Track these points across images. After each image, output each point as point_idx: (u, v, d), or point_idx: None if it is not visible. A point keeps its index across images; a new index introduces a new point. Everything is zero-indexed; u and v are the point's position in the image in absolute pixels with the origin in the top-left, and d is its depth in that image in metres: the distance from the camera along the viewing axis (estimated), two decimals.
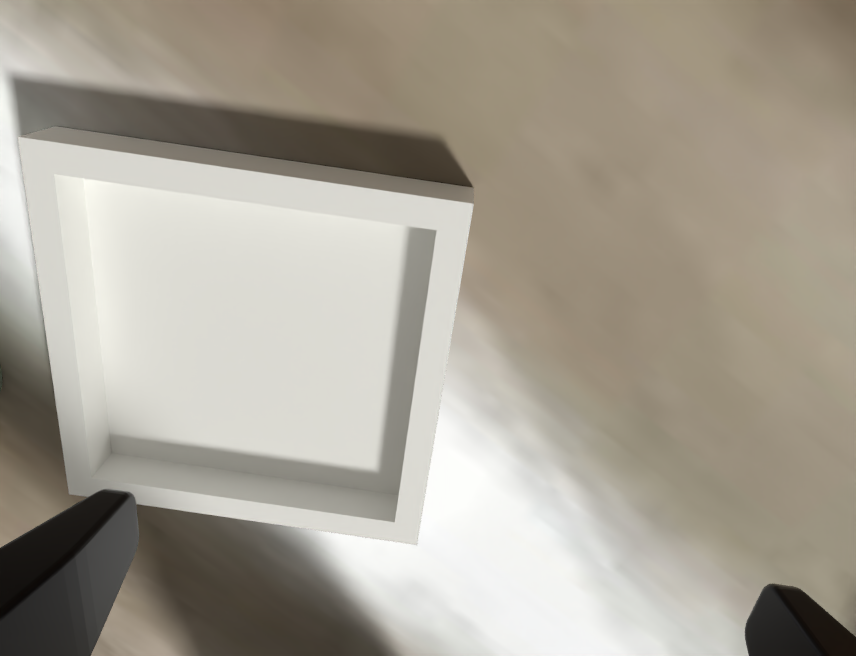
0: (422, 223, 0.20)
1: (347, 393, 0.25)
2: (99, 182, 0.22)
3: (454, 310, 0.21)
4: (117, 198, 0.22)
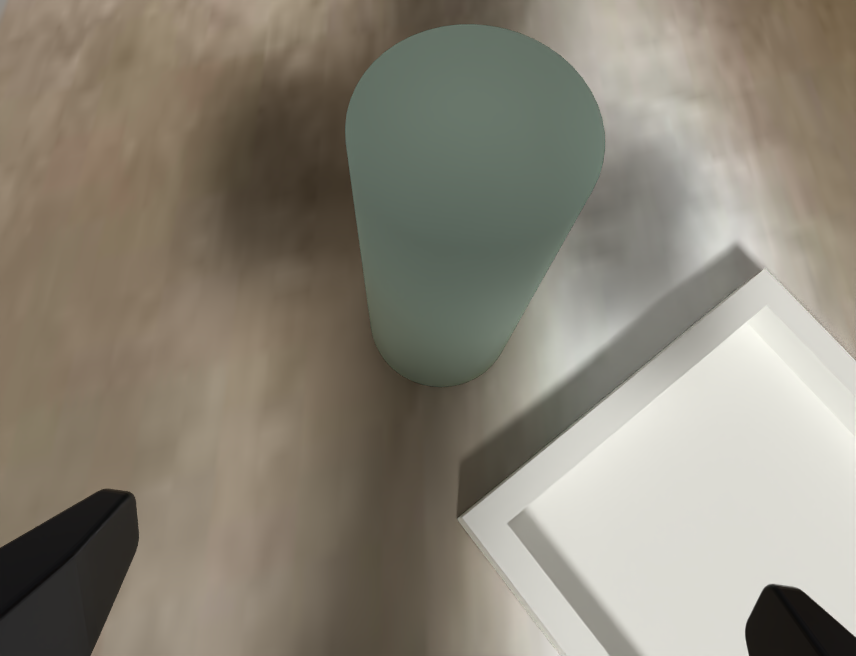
0: None
1: None
2: (743, 339, 0.24)
3: None
4: (746, 358, 0.24)
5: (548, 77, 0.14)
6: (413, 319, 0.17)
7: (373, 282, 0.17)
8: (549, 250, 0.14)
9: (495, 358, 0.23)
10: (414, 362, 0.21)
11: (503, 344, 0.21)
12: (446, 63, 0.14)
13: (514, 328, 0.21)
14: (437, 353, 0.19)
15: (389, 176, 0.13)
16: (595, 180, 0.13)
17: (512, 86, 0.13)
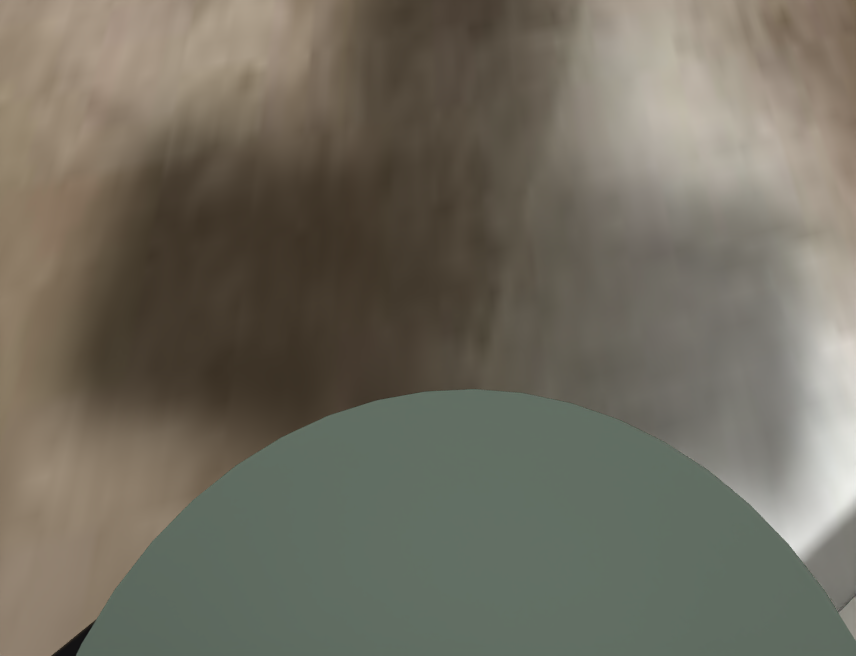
0: None
1: None
2: None
3: None
4: None
5: (716, 591, 0.04)
6: None
7: None
8: None
9: None
10: None
11: None
12: (388, 542, 0.04)
13: None
14: None
15: None
16: None
17: (602, 632, 0.04)
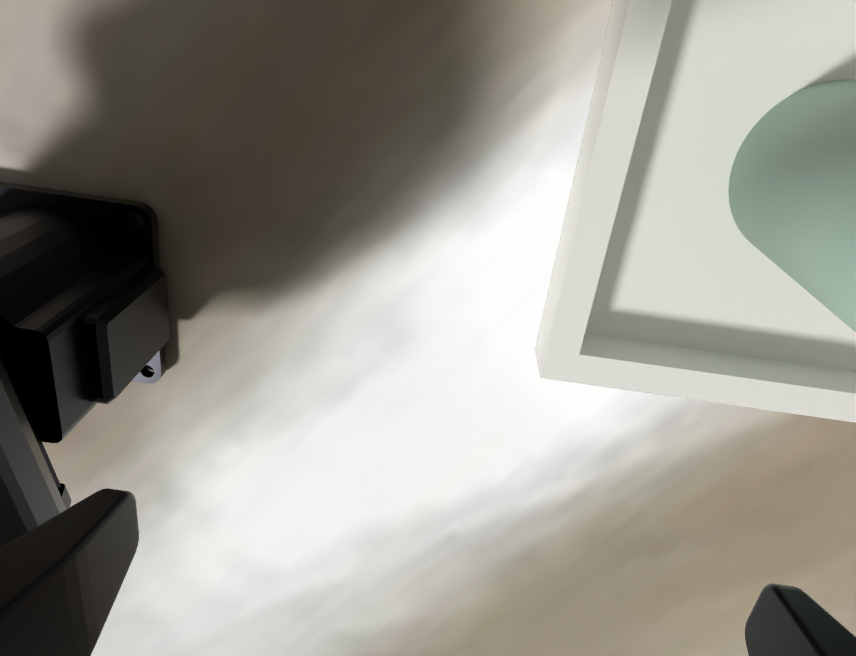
0: None
1: (734, 280, 0.20)
2: None
3: None
4: None
5: None
6: None
7: None
8: None
9: None
10: (771, 188, 0.16)
11: None
12: None
13: None
14: (796, 235, 0.15)
15: None
16: None
17: None
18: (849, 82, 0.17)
